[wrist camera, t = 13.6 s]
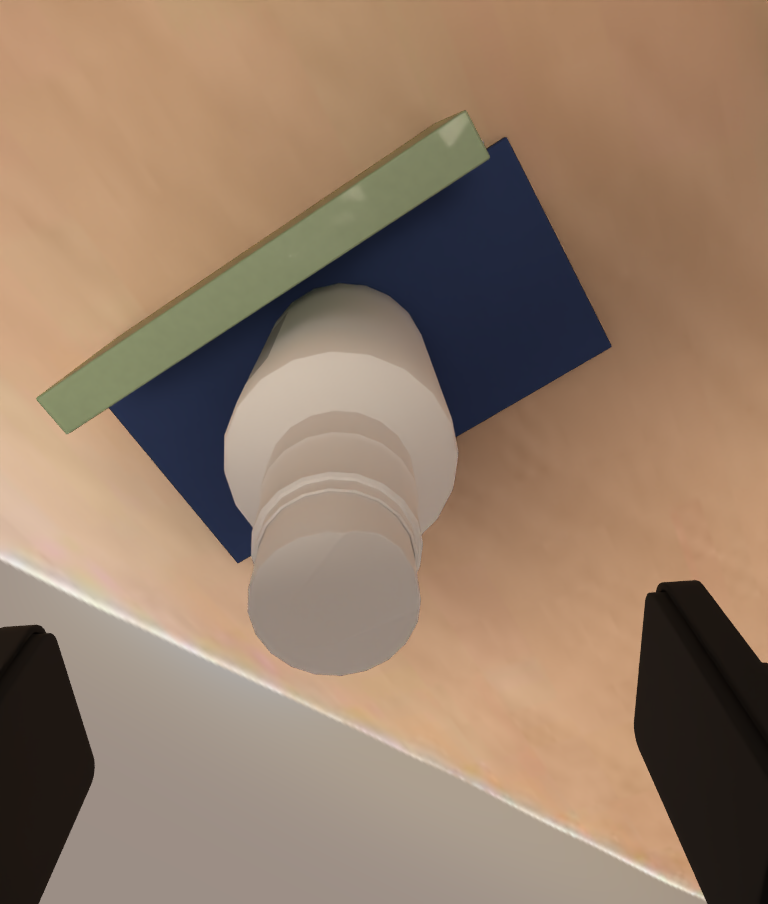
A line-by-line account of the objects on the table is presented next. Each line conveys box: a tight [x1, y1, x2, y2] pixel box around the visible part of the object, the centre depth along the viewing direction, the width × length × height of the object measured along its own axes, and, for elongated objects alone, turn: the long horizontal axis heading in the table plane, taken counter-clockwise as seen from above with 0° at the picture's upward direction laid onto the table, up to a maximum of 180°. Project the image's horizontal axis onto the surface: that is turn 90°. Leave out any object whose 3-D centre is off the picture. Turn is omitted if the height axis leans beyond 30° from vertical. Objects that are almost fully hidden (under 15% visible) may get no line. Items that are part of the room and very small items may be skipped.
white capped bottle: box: [224, 283, 459, 676], centre depth 22 cm, size 7×7×18 cm
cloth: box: [109, 137, 612, 563], centre depth 31 cm, size 10×20×1 cm, turn 122°
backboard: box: [36, 110, 490, 434], centre depth 25 cm, size 2×16×8 cm, turn 122°
